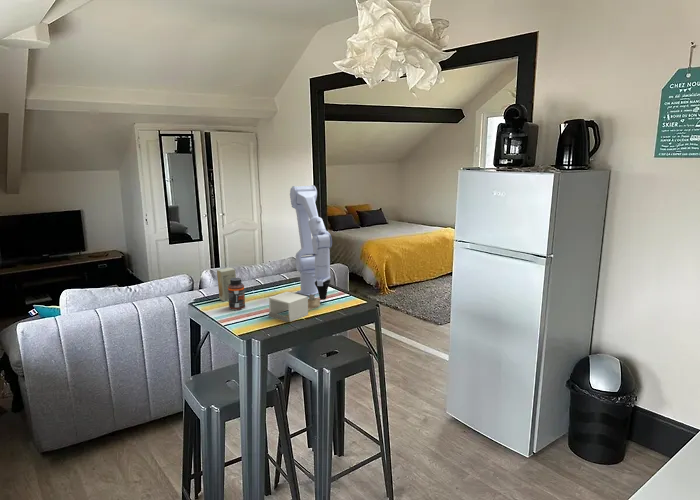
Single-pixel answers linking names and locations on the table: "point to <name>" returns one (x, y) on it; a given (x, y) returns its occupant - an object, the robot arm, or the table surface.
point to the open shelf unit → (288, 306)
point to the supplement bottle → (236, 294)
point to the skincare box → (225, 282)
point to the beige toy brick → (313, 302)
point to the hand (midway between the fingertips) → (323, 299)
